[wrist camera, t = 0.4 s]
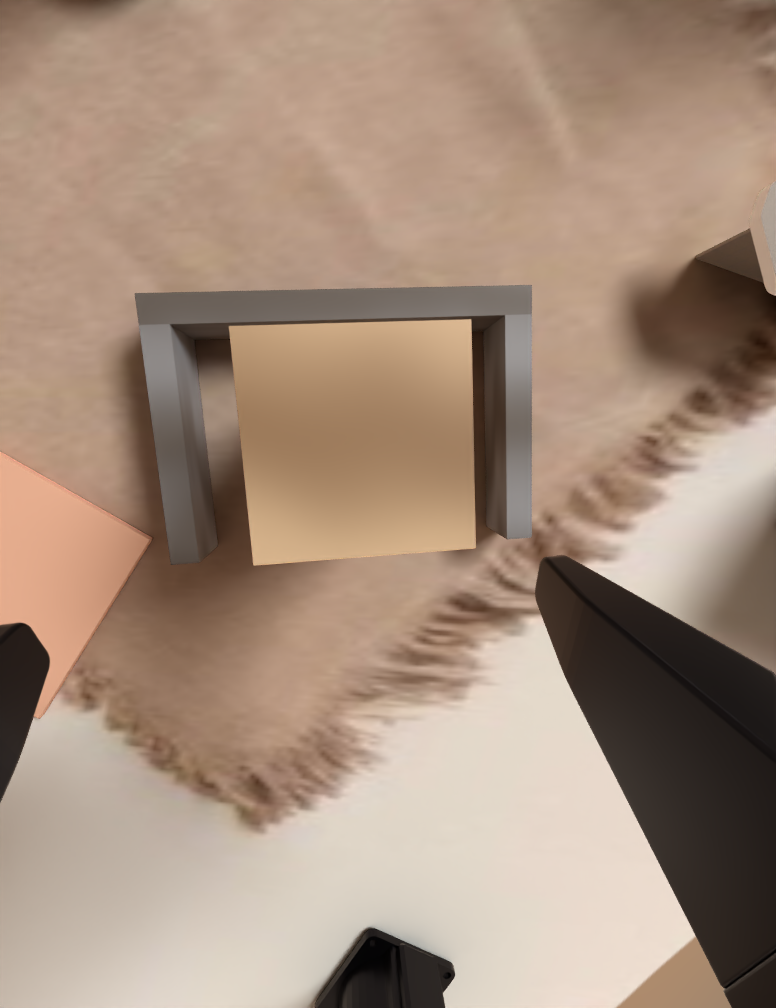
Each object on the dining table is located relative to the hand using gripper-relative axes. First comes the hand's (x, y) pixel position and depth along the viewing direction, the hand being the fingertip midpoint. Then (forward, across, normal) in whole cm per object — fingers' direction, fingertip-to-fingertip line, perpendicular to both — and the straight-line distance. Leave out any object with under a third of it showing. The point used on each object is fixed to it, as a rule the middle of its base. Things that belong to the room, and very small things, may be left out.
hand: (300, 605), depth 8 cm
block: (+15, -1, +3) cm, 15 cm away
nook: (+15, -1, +3) cm, 15 cm away
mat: (+13, +16, +8) cm, 22 cm away
